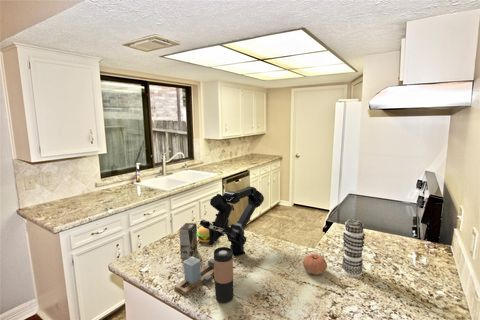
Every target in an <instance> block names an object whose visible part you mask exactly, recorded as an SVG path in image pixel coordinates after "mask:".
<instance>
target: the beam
mask: <svg viewBox="0 0 480 320" xmlns="http://www.w3.org/2000/svg"><path fill="white" fill-rule="evenodd" d="M200 269H201V279H200V280H198V281H197V282H195V283H194V284H189V282H187V281H185V278H184V279H182V280H181V281H180V282H179V283H176V284H175V285H174V290H175V291H176V292H178V293H180V294H183V295H184V296H188V295H189V294H190V293H191V292H193V291H194V290H196V289H197V288H198V287H200V286H201V285H203V284H206V285H209V284H211V283H212V282H213V277H214V257H213V258H210V259H209V260H207V264H206V265H204V266H202V267H200Z"/></svg>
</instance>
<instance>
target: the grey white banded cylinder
mask: <svg viewBox="0 0 480 320" xmlns="http://www.w3.org/2000/svg"><path fill="white" fill-rule="evenodd" d="M344 225H345V228H344V232H343V235H342V237H343V238H342V240H343V243H342V244H343V245H342V246H343V250H344V251H343V256H342V267H341V268H342V269H341V270H342V272H343V273H344V274H345V275H347V276H349V277H353V278H358V277H361V276H362V274H363V262H364V259H363V251H364V247H365V245H364V244H365V241H364V240H365V239H366V238H365V237H366V233H365V232H364V227H365V224H364V223H363V222H362V221H361V220H359V219H356V218H350V219H349V218H348V219H347V220H346V221H344Z"/></svg>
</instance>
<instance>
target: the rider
mask: <svg viewBox="0 0 480 320" xmlns="http://www.w3.org/2000/svg"><path fill="white" fill-rule="evenodd" d="M183 271H184V273H183V274H184V279H185V281H187V282H189V284H188V285H190V284H194V283H195V282H197V281H198V280H200V279H201V277H202V275H201V259H200V258H197V257H194V256H193V257H190V258H188V259H187V258H186V259H185V260H184V261H183Z"/></svg>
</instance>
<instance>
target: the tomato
mask: <svg viewBox="0 0 480 320" xmlns="http://www.w3.org/2000/svg"><path fill="white" fill-rule="evenodd" d="M302 264H303V268H304V269H305V271H306V272H307V273H309V274H311V275H315V276H320V275H323V274H324V273H325V272H326V270H327V268H328V264H327V261H326V259H325V258H324V257H323V256H321V255H319V254H314V253H312V254H309V255H306V256H305V257H304V259H303V261H302Z"/></svg>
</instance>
